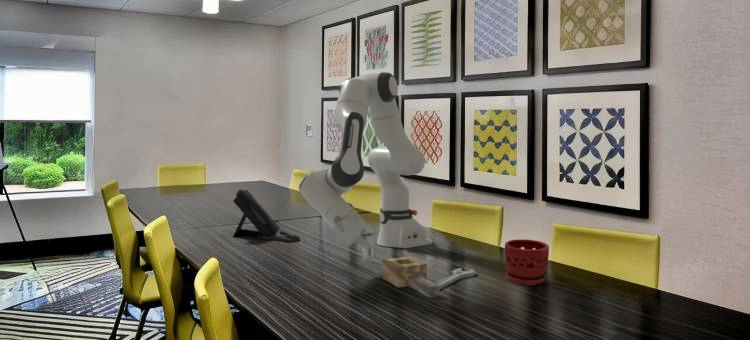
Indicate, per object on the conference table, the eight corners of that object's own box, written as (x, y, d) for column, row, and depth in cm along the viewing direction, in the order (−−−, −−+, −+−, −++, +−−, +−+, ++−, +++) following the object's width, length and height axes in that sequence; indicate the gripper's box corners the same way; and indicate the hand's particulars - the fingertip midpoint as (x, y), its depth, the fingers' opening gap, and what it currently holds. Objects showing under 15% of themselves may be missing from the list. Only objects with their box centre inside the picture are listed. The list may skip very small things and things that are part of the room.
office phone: (298, 243, 216) (298, 193, 215) (227, 242, 215) (226, 192, 213) (304, 228, 246) (304, 184, 244) (241, 228, 244) (241, 184, 242)
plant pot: (499, 275, 173) (501, 238, 172) (540, 276, 173) (542, 239, 172) (508, 287, 160) (509, 247, 159) (553, 288, 160) (554, 248, 159)
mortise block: (409, 274, 172) (410, 256, 172) (449, 294, 153) (449, 274, 152) (382, 278, 168) (382, 259, 167) (419, 299, 148) (419, 278, 148)
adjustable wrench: (433, 294, 155) (433, 288, 155) (415, 289, 159) (415, 283, 159) (477, 275, 174) (477, 270, 174) (460, 271, 178) (460, 266, 178)
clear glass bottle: (371, 258, 174) (371, 227, 173) (377, 261, 170) (377, 230, 169) (358, 260, 172) (358, 229, 171) (364, 263, 168) (364, 231, 167)
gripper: (339, 213, 160) (372, 246, 159) (351, 202, 180) (380, 232, 180) (325, 227, 161) (357, 261, 160) (338, 215, 181) (367, 244, 181)
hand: (369, 245), depth 170 cm, fingers closed on clear glass bottle, 4 cm apart
